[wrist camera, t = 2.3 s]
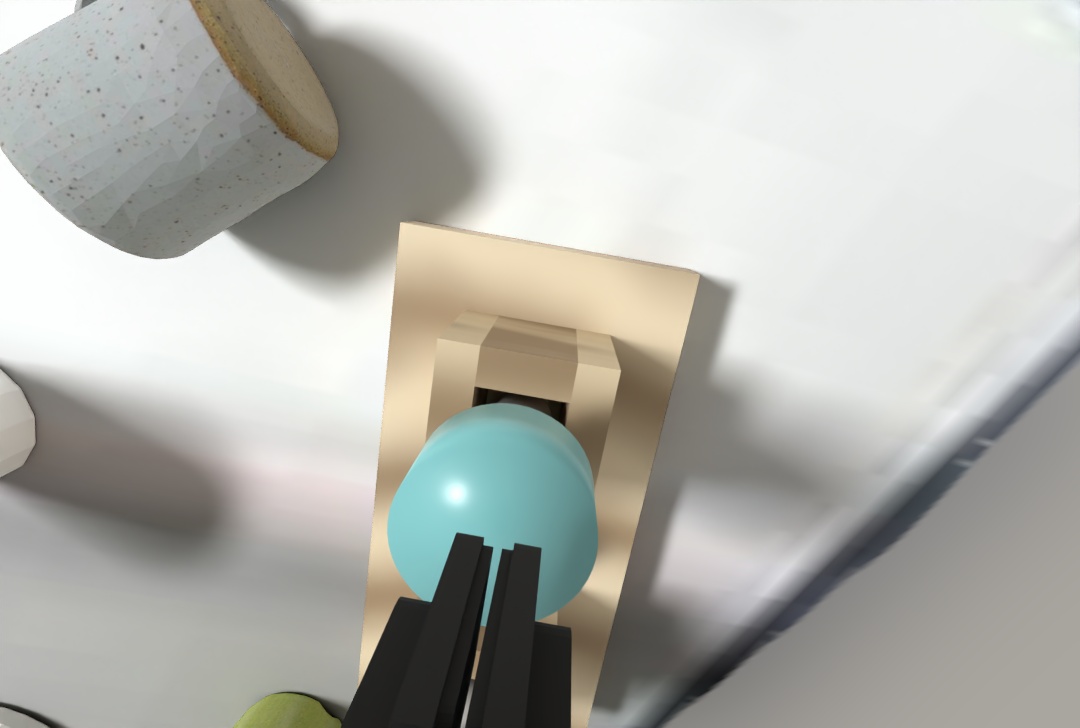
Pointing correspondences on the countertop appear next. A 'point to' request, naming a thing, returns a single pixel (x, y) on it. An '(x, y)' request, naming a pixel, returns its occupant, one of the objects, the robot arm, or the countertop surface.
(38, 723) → the robot arm
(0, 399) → the white cup
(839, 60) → the countertop surface
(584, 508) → the teal knob
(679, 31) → the countertop surface
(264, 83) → the ceramic mug
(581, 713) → the mount
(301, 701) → the plant pot
